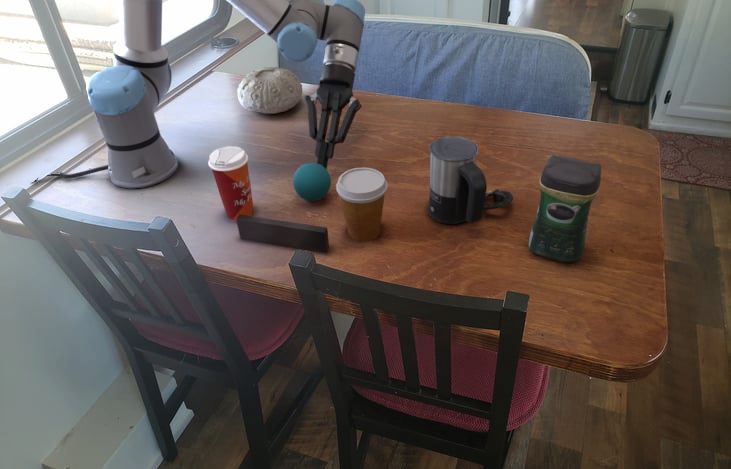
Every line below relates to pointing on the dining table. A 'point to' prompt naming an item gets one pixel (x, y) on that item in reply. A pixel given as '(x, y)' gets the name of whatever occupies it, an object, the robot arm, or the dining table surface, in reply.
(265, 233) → the block
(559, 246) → the coffee jar
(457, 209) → the milk frother
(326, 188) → the ball
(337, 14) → the robot arm
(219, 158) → the paper cup
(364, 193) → the disposable coffee cup
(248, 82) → the decorative shell
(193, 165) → the dining table surface
